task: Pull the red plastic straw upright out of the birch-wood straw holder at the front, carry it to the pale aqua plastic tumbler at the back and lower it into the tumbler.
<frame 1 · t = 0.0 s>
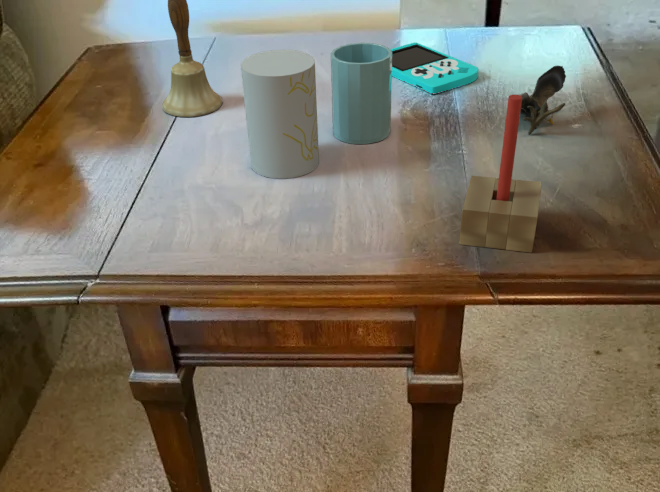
straw: (506, 167, 73), in the straw holder
hand bell: (192, 106, 106), on the table
handheld game console: (422, 72, 112), on the table
cup: (285, 163, 91), on the table
tumbler: (361, 131, 97), on the table
straw holder: (498, 230, 77), on the table
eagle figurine: (535, 123, 97), on the table
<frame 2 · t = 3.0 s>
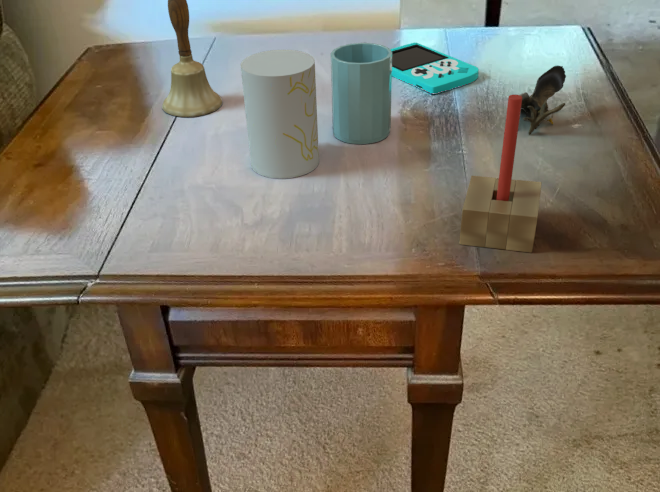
nothing on the table moved.
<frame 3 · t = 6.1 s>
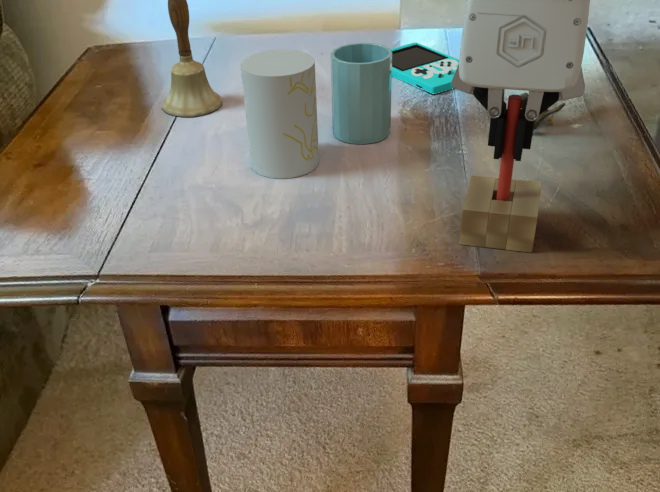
hand: (508, 152, 72), 9 cm above the table, tool pointing down, fingers closed on straw, 1 cm apart
straw: (506, 167, 73), in the straw holder, touching gripper
everything else where it was.
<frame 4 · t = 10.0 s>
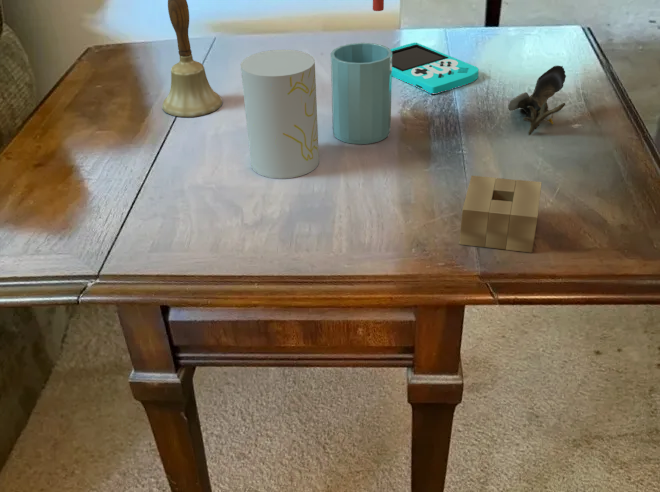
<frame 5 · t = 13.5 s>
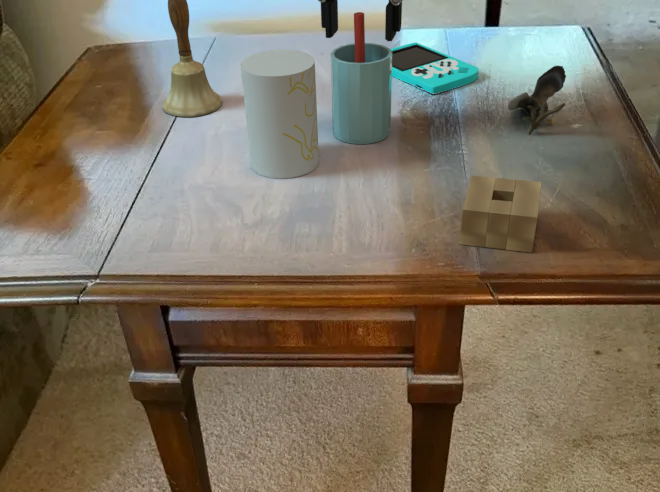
hand: (361, 34, 89), 12 cm above the table, tool pointing down, fingers open, 6 cm apart
straw: (360, 73, 92), in the tumbler
everything else where it was.
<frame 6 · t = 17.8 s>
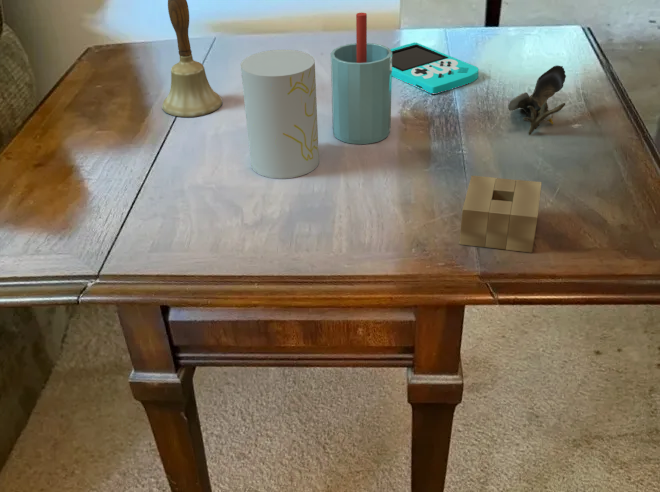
nothing on the table moved.
at the end: straw 0.1 cm off-centre in the tumbler, point 7.5 cm above the tumbler's base; the gripper is holding nothing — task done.
